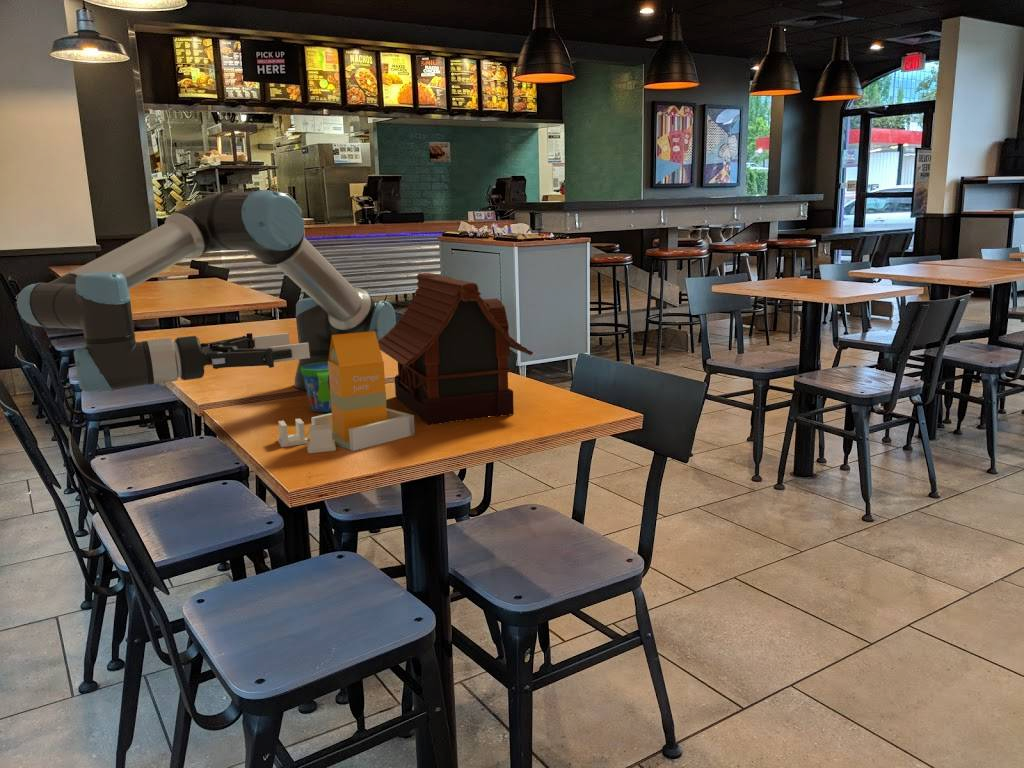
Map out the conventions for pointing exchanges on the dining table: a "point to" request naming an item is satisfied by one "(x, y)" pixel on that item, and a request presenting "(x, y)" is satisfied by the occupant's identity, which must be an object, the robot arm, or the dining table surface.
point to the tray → (372, 430)
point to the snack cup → (317, 386)
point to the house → (452, 352)
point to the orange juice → (356, 382)
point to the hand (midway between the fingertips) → (298, 344)
